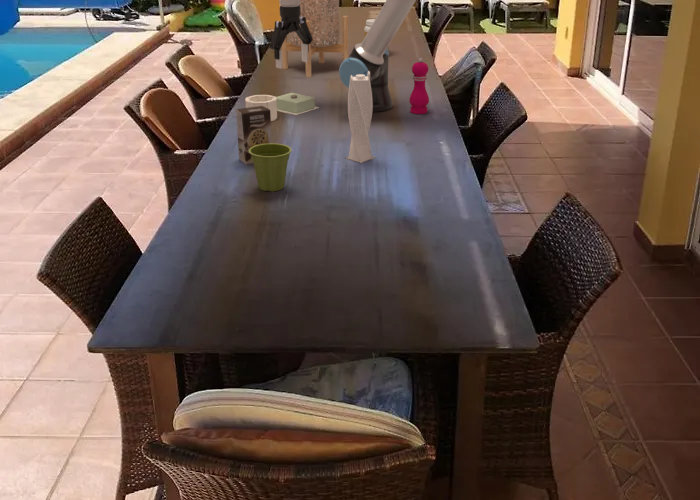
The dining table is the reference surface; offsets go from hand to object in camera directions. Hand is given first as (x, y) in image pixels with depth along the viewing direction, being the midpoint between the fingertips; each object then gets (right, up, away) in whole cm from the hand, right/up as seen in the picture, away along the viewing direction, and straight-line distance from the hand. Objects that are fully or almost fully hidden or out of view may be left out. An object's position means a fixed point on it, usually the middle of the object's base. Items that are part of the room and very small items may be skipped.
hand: (292, 64), depth 291 cm
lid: (0, -15, +7) cm, 16 cm away
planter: (+6, +14, +68) cm, 69 cm away
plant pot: (-1, -51, -67) cm, 84 cm away
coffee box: (-8, -40, -46) cm, 61 cm away
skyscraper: (+25, -40, -45) cm, 66 cm away
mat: (0, -15, +7) cm, 17 cm away
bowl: (-11, -21, -5) cm, 24 cm away
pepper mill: (+47, -17, +2) cm, 50 cm away
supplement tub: (+34, +26, +93) cm, 102 cm away
